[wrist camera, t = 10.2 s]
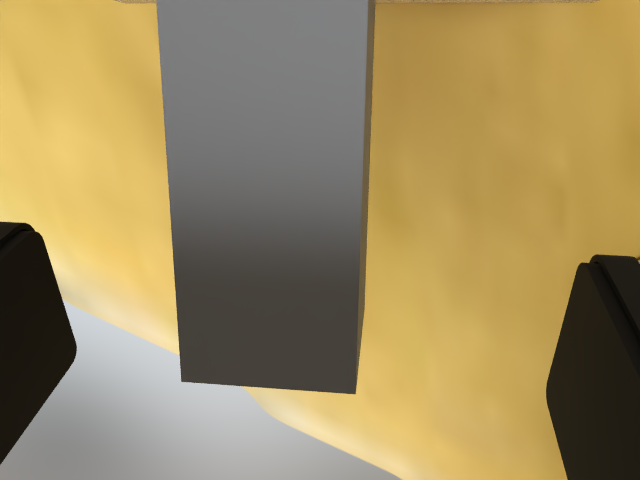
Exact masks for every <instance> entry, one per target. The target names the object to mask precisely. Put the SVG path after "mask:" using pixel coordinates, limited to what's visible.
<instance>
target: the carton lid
mask: <svg viewBox="0 0 640 480" xmlns="http://www.w3.org/2000/svg"><path fill="white" fill-rule="evenodd" d="M115 1H119V2H123V3H157V17H158V32H159V48H160V63H161V78H162V93H163V108H164V123H165V139H166V154H167V169H168V184H169V199H170V214H171V230H172V245H173V260H174V275H175V290H176V305H177V321H178V336H179V351H180V366H181V381H182V382H193V383H207V384H221V385H236V386H248V387H262V388H276V389H290V390H304V391H318V392H332V393H346V394H356V385H357V375H358V366H359V356H360V346H361V337H362V327H363V317H364V305H365V277H366V249H367V221H368V192H369V164H370V136H371V108H372V80H373V52H374V24H375V3H514V2H595V1H598V0H115Z"/></svg>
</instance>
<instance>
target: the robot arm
mask: <svg viewBox="0 0 640 480" xmlns="http://www.w3.org/2000/svg"><path fill="white" fill-rule="evenodd" d="M76 349H77V346H76V341H75V338H74V335H73V332H72V329H71V326H70V323H69V319H68V316H67V313H66V310H65V307H64V303H63V300H62V297H61V294H60V291H59V288H58V284H57V281H56V278H55V275H54V272H53V268H52V265H51V262H50V259H49V256H48V253H47V249H46V246H45V243H44V240H43V238H42V236H41V235H40V234H39V233H38V232H35V230H34V229H33V228H32V226H31V225H29V224H27V223H14V222H0V464H1V463H2V462H3V460H4V459H5V457H6V456H7V454H8V453H9V452H10V450H11V449H12V448H13V446H14V445H15V443H16V442H17V441H18V439H19V438H20V436H21V435H22V434H23V432H24V430H25V429H26V428H27V427H28V425H29V424H30V422H31V421H32V420H33V418H34V417H35V415H36V414H37V413H38V411H39V410H40V408H41V407H42V406H43V404H44V403H45V401H46V400H47V399H48V397H49V396H50V394H51V393H52V392H53V390H54V389H55V387H56V386H57V385H58V383H59V382H60V380H61V379H62V377H63V376H64V375H65V373H66V372H67V371H68V369H69V368H70V366H71V364H72V363H73V362H74V359H75V356H76V351H77V350H76ZM546 398H547V404H548V408H549V412H550V416H551V419H552V423H553V427H554V430H555V434H556V438H557V442H558V445H559V449H560V453H561V456H562V460H563V464H564V467H565V471H566V475H567V478H568V480H640V260H638V261H637V259H636V258H635V257H631V256H613V255H594V256H593V257H592V259H591V260H590V263H581V264H580V265H579V266H578V269H577V271H576V275H575V279H574V283H573V286H572V290H571V294H570V298H569V302H568V305H567V309H566V313H565V317H564V320H563V324H562V328H561V332H560V336H559V339H558V343H557V347H556V351H555V354H554V358H553V362H552V366H551V370H550V373H549V377H548V381H547V387H546Z"/></svg>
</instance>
